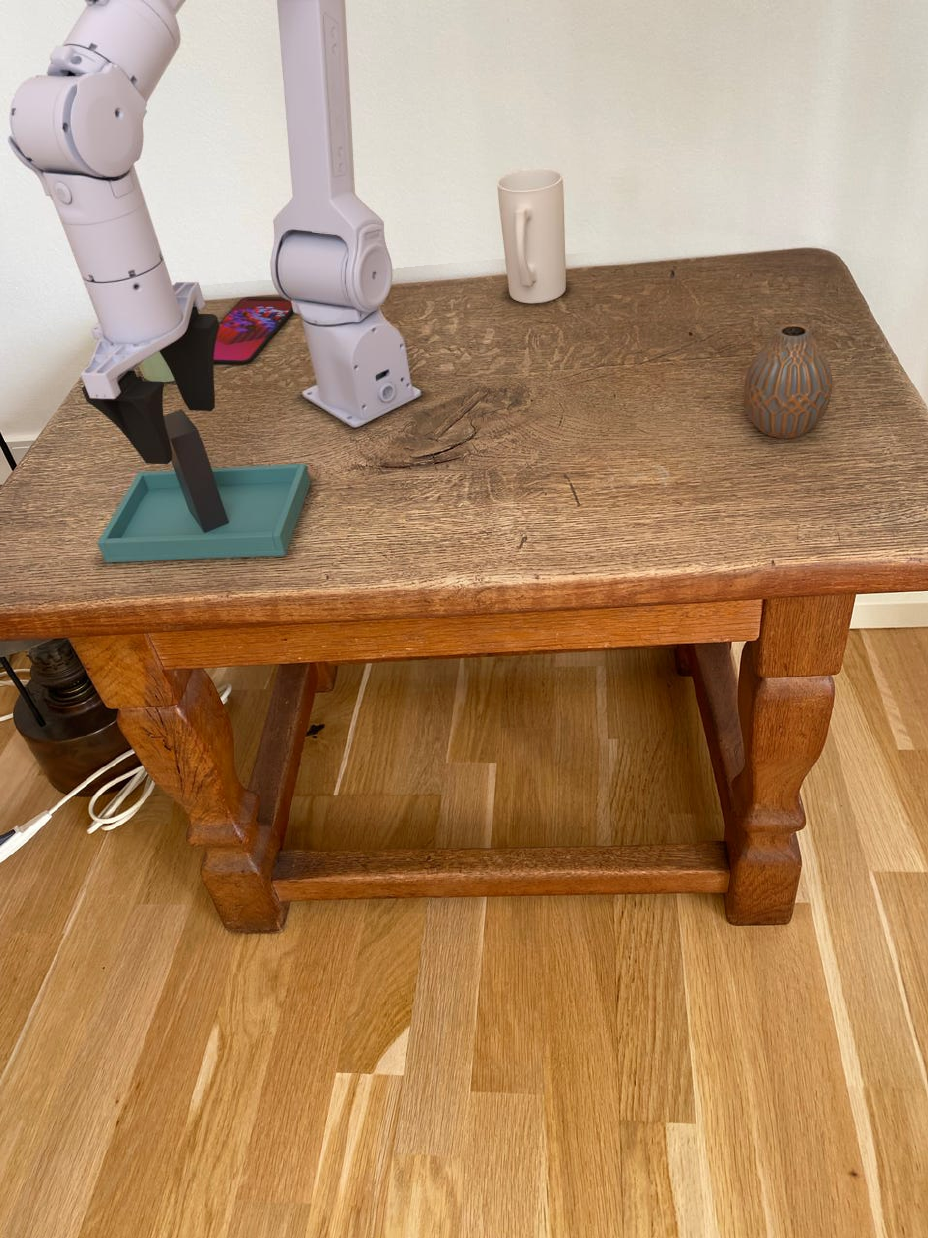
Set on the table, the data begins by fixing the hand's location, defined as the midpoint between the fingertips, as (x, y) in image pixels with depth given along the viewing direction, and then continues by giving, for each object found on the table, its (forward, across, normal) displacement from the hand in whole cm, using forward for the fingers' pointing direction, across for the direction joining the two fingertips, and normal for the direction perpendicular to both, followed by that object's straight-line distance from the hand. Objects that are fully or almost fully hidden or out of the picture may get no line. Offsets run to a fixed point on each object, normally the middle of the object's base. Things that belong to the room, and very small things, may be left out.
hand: (181, 434), depth 79 cm
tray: (+8, 0, 0) cm, 8 cm away
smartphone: (+9, -34, -12) cm, 37 cm away
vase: (+9, -18, +46) cm, 50 cm away
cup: (+8, -26, -17) cm, 32 cm away
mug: (+9, -42, +19) cm, 47 cm away
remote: (+8, 0, 0) cm, 8 cm away
